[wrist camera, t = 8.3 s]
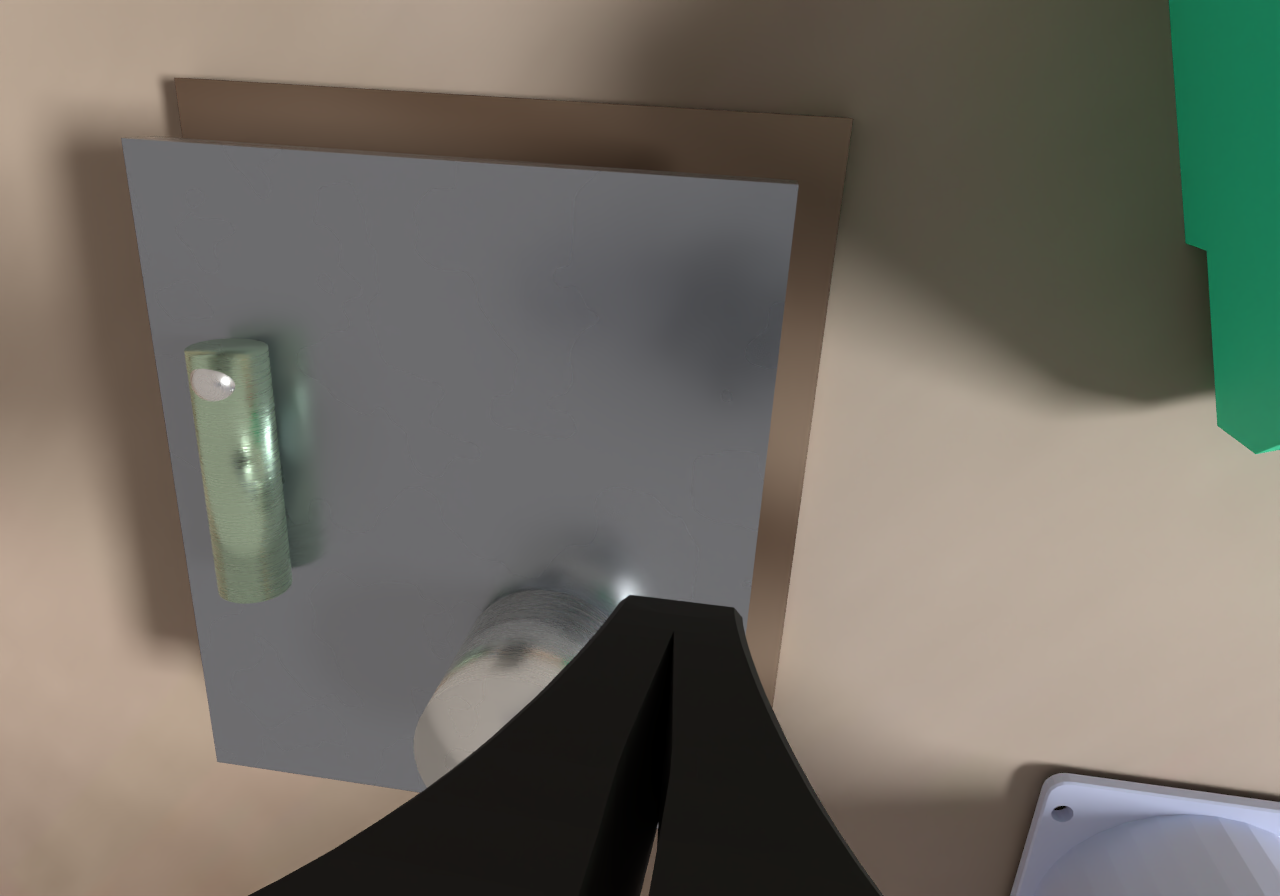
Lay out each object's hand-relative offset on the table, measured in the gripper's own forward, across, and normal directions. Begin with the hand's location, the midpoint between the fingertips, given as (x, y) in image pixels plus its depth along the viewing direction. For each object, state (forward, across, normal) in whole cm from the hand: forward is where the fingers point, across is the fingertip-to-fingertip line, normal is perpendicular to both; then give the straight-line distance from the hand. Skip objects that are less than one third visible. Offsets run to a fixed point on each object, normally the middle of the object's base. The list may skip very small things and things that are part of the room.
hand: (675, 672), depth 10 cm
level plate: (+7, +5, +2) cm, 9 cm away
